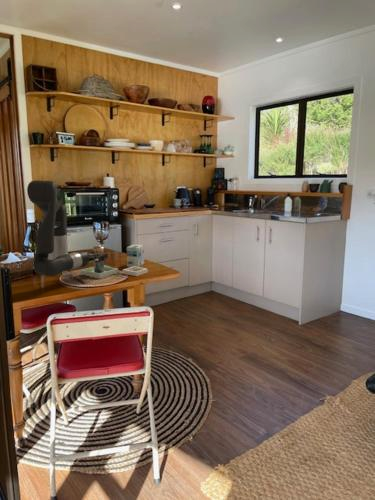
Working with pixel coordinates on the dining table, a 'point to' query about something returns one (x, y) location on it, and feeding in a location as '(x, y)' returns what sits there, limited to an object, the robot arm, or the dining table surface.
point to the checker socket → (133, 272)
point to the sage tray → (91, 273)
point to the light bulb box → (135, 255)
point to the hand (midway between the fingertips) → (100, 254)
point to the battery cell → (100, 265)
